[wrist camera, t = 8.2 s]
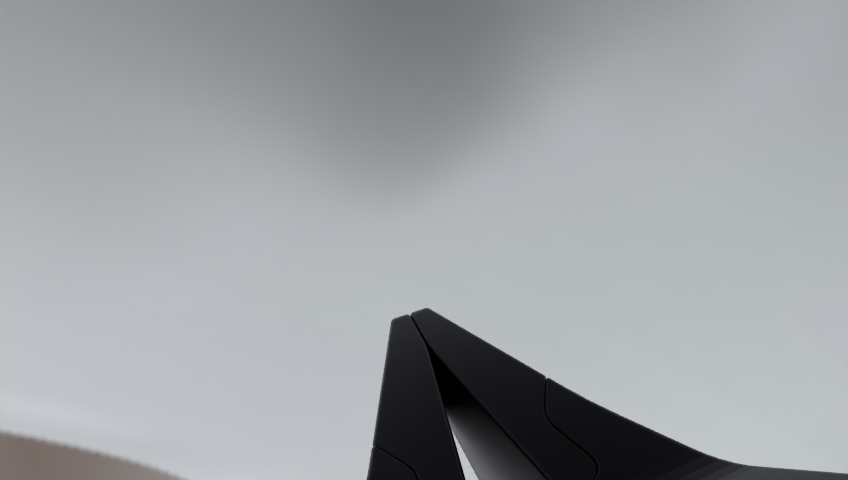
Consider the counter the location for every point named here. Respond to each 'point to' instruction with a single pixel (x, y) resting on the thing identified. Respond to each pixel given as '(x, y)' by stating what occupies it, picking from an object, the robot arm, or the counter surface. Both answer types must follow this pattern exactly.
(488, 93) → the counter surface
